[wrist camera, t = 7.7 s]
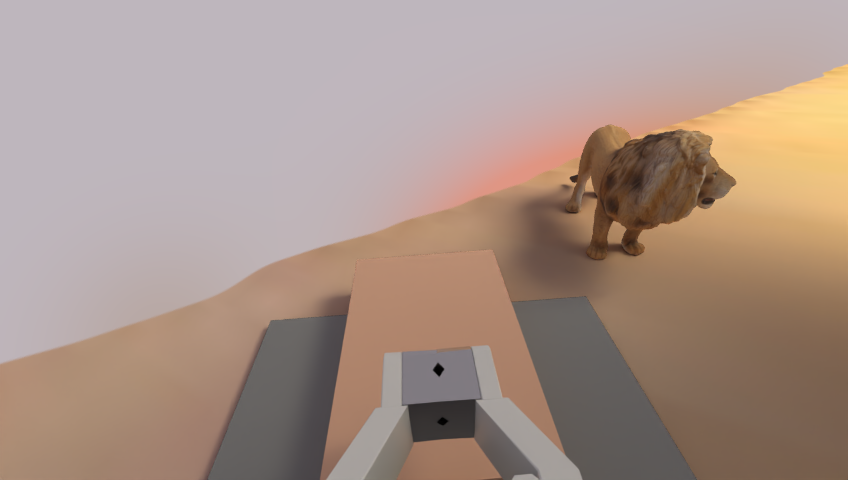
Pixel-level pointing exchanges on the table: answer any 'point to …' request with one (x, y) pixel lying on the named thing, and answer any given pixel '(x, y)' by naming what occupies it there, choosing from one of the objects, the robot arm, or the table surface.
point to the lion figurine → (645, 182)
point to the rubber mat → (554, 364)
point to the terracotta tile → (429, 330)
